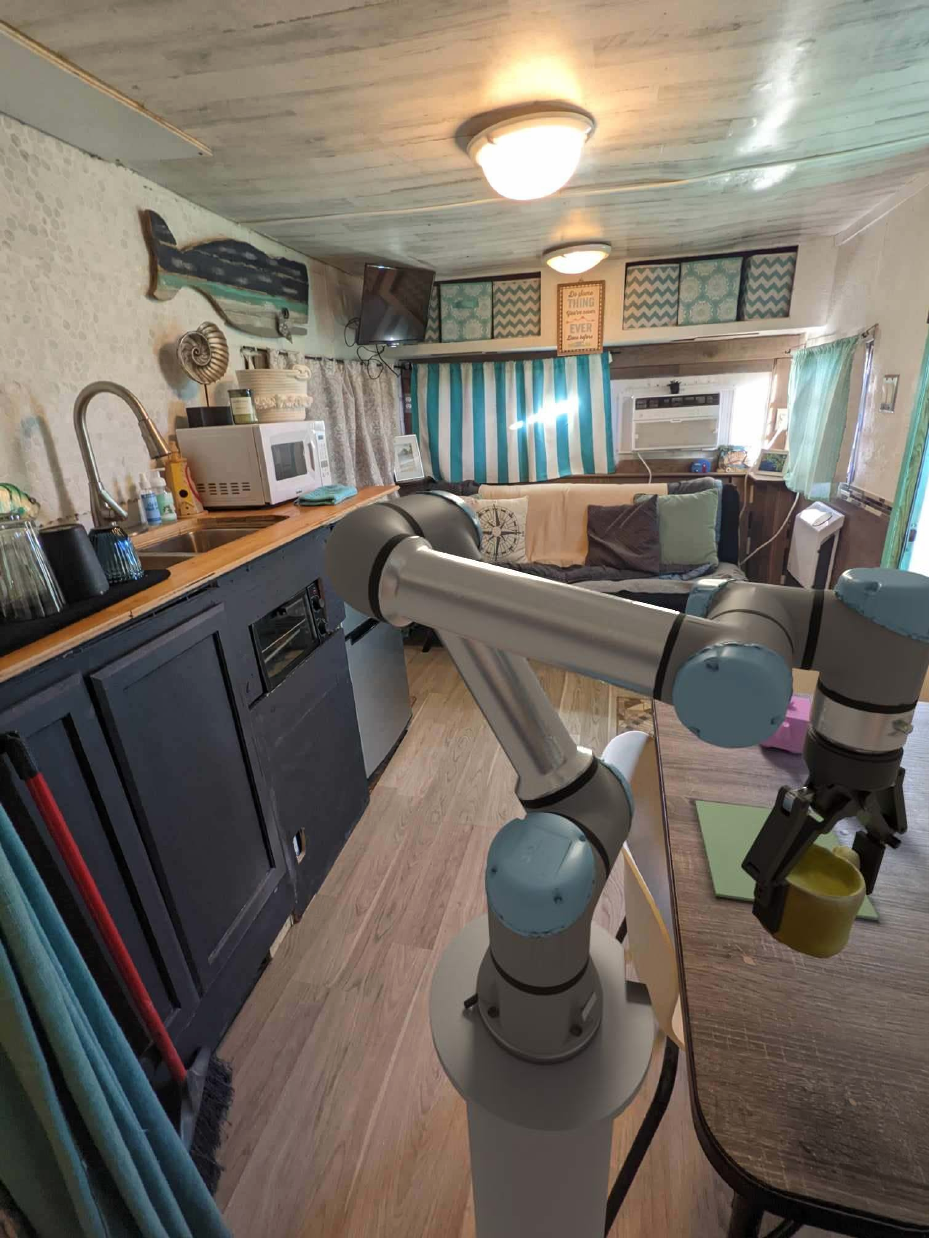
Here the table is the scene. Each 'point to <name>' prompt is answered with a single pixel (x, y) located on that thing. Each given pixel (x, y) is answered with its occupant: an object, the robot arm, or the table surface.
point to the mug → (821, 901)
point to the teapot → (792, 727)
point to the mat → (743, 848)
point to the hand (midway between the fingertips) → (812, 903)
